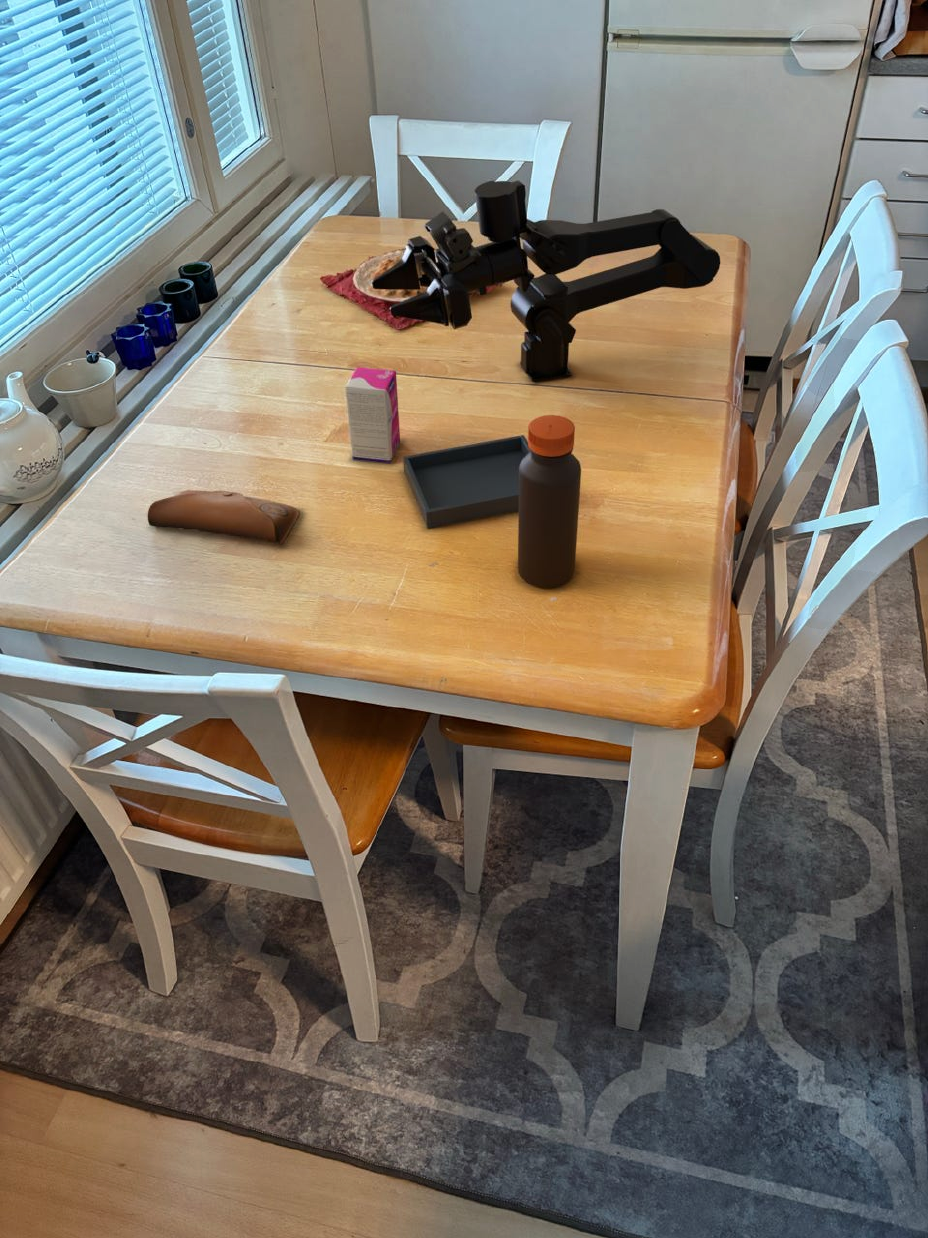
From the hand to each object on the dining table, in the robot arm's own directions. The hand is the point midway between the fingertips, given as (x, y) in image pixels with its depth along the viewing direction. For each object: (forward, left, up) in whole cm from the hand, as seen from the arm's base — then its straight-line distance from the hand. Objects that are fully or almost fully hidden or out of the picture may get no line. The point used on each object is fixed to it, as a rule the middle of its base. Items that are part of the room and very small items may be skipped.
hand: (381, 297), depth 132 cm
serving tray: (-6, +25, -16) cm, 31 cm away
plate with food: (-12, -39, -17) cm, 44 cm away
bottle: (-9, +44, -17) cm, 48 cm away
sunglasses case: (+27, +22, -17) cm, 39 cm away
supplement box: (+5, +12, -17) cm, 21 cm away
